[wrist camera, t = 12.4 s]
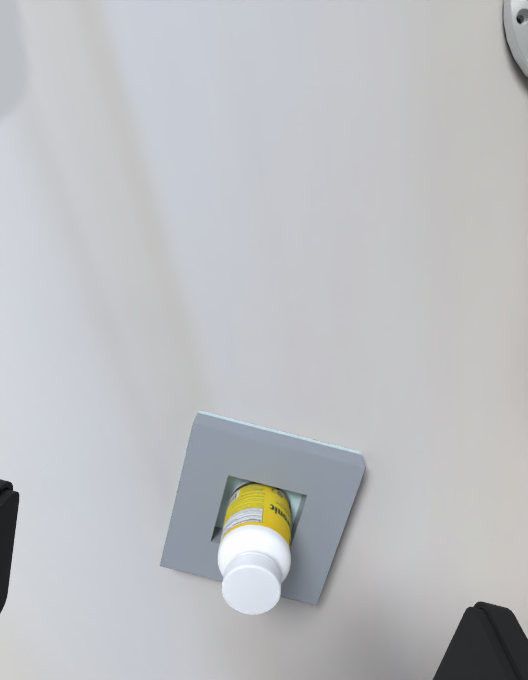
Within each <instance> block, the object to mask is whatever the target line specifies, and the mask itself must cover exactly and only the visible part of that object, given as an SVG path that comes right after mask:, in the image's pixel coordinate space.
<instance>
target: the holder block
mask: <svg viewBox="0 0 528 680" xmlns="http://www.w3.org/2000/svg"><path fill="white" fill-rule="evenodd" d="M365 468H366V467H365V464H364V460H363V457H362V453H361V452H360V451H356V450H352V449H348V448H344V447H340V446H336V445H333V444H329V443H325V442H321V441H317V440H313V439H309V438H305V437H302V436H298V435H294V434H290V433H286V432H282V431H278V430H274V429H270V428H267V427H263V426H259V425H255V424H251V423H247V422H243V421H239V420H235V419H232V418H228V417H224V416H220V415H216V414H212V413H208V412H204V411H201V410H199V411H198V413H197V416H196V418H195V420H194V422H193V425H192V430H191V434H190V438H189V443H188V447H187V451H186V456H185V460H184V464H183V469H182V473H181V477H180V481H179V486H178V490H177V494H176V499H175V503H174V507H173V512H172V516H171V520H170V525H169V529H168V533H167V537H166V542H165V546H164V550H163V555H162V559H161V563H160V566H162V567H166V568H170V569H174V570H178V571H182V572H186V573H190V574H194V575H198V576H202V577H206V578H209V579H213V580H217V581H221V582H223V576H222V574H221V572H220V570H219V566H218V550H219V545H220V541H221V536H222V531H223V526H224V521H225V516H226V511H227V507H228V502H229V499H230V496H231V494H232V492H233V491H234V489H235V488H236V487H237V486H238V485H240V484H241V483H243V482H245V481H248V480H249V481H253V482H257V483H261V484H264V485H268V486H272V487H276V488H280V489H284V491H285V492H286V493H287V495H288V497H289V500H290V505H291V565H290V570H289V572H288V575H287V576H286V578H285V579H284V581H283V582H282V583H281V595H280V596H281V597H285V598H289V599H293V600H297V601H301V602H305V603H309V604H313V605H317V602H318V600H319V597H320V594H321V591H322V588H323V586H324V583H325V580H326V577H327V574H328V572H329V569H330V566H331V563H332V560H333V558H334V555H335V552H336V549H337V546H338V544H339V541H340V538H341V535H342V532H343V530H344V527H345V524H346V521H347V518H348V516H349V513H350V510H351V507H352V504H353V502H354V499H355V496H356V493H357V490H358V488H359V485H360V482H361V479H362V476H363V474H364V471H365Z"/></svg>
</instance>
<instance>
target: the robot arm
mask: <svg viewBox="0 0 528 680" xmlns="http://www.w3.org/2000/svg"><path fill="white" fill-rule="evenodd" d="M516 18H519V19H520V21H521V22H520V24H519V23H518V22H517V20H516ZM504 26H505V31H506V37H507V41H508V44H509V47H510V49H511V52H512V54H513V57H514V59H515V61H516V62H517V64H518V65H519V67H520V68H521V70H522V71H523V73H524V74H525V75H526V76H527V77H528V0H504ZM18 505H19V493H18V492H16V491H13V485H12V483H11V482H8V481H4V480H0V613H1V611H2V609H3V607H4V604H5V602H6V599H7V594H8V586H9V578H10V569H11V561H12V553H13V545H14V537H15V529H16V521H17V513H18ZM433 680H528V639H527V637H526V635H525V634H524V632H523V630H522V628H521V626H520V624H519V623H518V621H517V619H516V617H515V615H514V614H513V613H512V611H511V610H509V609H508V608H505V607H501V606H497V605H493V604H489V603H485V602H478V603H476V604H475V606H474V607H469V608H467V609H466V611H465V613H464V615H463V617H462V619H461V621H460V623H459V625H458V627H457V630H456V632H455V634H454V636H453V638H452V640H451V642H450V644H449V647H448V649H447V651H446V653H445V655H444V657H443V659H442V661H441V664H440V666H439V668H438V670H437V672H436V674H435V676H434V678H433Z"/></svg>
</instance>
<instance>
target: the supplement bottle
mask: <svg viewBox="0 0 528 680" xmlns="http://www.w3.org/2000/svg"><path fill="white" fill-rule="evenodd" d="M290 565H291V505H290V500H289V497H288V495H287V493H286V492H285V491H284V489H280V488H276V487H272V486H268V485H264V484H261V483H257V482H253V481H249V480H248V481H245V482H243V483H241V484H240V485H238V486H237V487H236V488H235V489H234V491H233V492H232V494H231V496H230V499H229V502H228V507H227V511H226V516H225V521H224V526H223V531H222V536H221V541H220V545H219V550H218V566H219V570H220V572H221V574H222V576H223V582H222V593H223V596H224V599H225V600H226V602H227V603H228V604H229V605H230V606H231V607H232V608H233V609H235V610H236V611H238V612H241V613H244V614H249V615H256V614H262V613H265V612H267V611H269V610H271V609H272V608H273V607H274V606H275V605H276V604H277V602H278V601H279V598H280V595H281V583H282V582H283V581H284V579H285V578H286V576H287V575H288V572H289V570H290Z"/></svg>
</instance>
